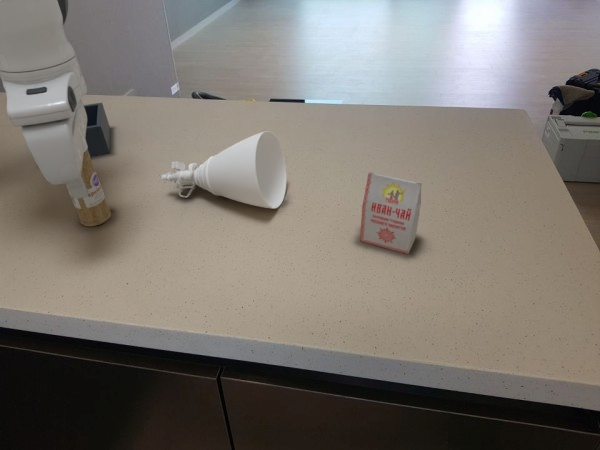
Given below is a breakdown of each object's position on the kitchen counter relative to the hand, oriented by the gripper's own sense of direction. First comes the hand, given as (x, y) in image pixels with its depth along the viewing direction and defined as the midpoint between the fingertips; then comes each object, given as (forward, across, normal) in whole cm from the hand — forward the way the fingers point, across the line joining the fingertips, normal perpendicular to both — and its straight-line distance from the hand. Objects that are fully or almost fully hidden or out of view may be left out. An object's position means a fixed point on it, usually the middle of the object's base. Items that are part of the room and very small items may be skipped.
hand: (83, 178), depth 65 cm
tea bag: (+8, +20, +39) cm, 44 cm away
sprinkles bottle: (+7, 0, 0) cm, 7 cm away
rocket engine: (+8, 0, +21) cm, 22 cm away
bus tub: (+7, -27, -4) cm, 28 cm away
